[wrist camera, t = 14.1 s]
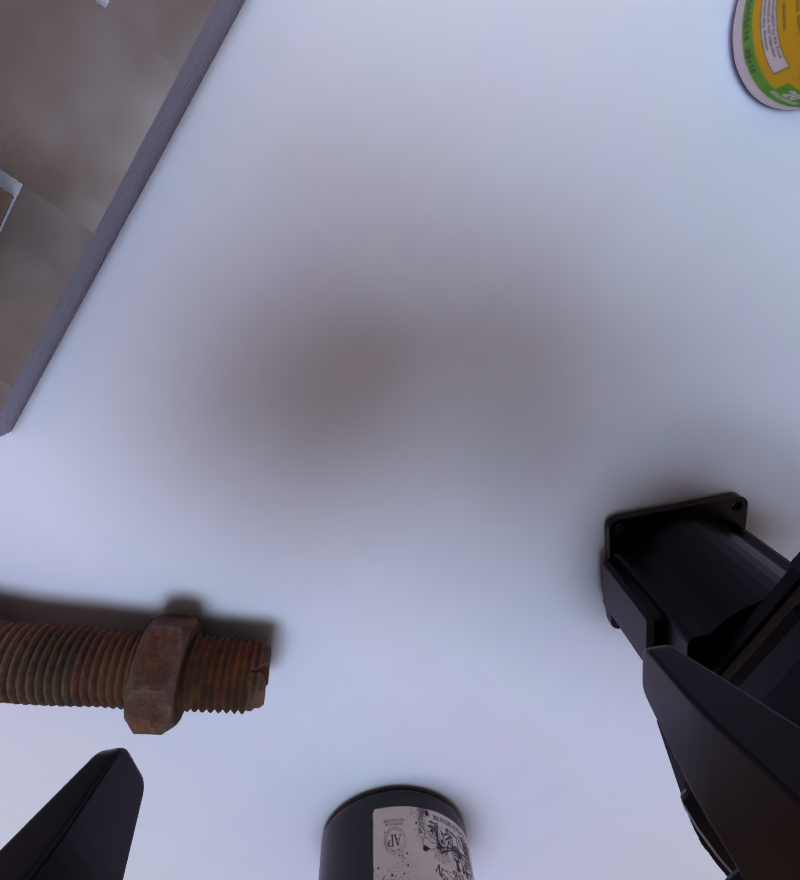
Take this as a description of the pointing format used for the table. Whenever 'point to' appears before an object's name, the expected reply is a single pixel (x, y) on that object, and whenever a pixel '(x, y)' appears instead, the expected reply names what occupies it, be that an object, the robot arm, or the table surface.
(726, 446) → the table surface
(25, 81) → the strike plate
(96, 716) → the table surface
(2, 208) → the birch peg
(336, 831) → the ink bottle
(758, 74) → the supplement bottle
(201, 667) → the bolt
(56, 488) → the table surface
